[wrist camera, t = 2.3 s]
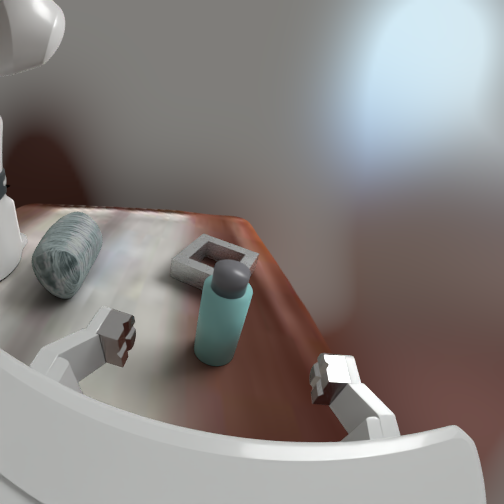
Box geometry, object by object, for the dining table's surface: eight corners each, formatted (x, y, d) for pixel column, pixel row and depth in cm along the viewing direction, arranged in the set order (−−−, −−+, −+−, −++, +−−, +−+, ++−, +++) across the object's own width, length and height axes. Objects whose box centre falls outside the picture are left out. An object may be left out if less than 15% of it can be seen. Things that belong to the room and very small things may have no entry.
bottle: (186, 355, 27) (197, 272, 22) (204, 330, 31) (219, 250, 26) (225, 372, 27) (249, 292, 21) (239, 344, 31) (263, 266, 25)
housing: (170, 276, 38) (171, 259, 37) (200, 249, 47) (203, 233, 46) (233, 302, 37) (238, 285, 35) (254, 269, 46) (259, 253, 44)
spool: (87, 298, 26) (54, 212, 23) (36, 313, 26) (6, 240, 23) (125, 260, 39) (103, 199, 36) (80, 276, 39) (59, 220, 36)
